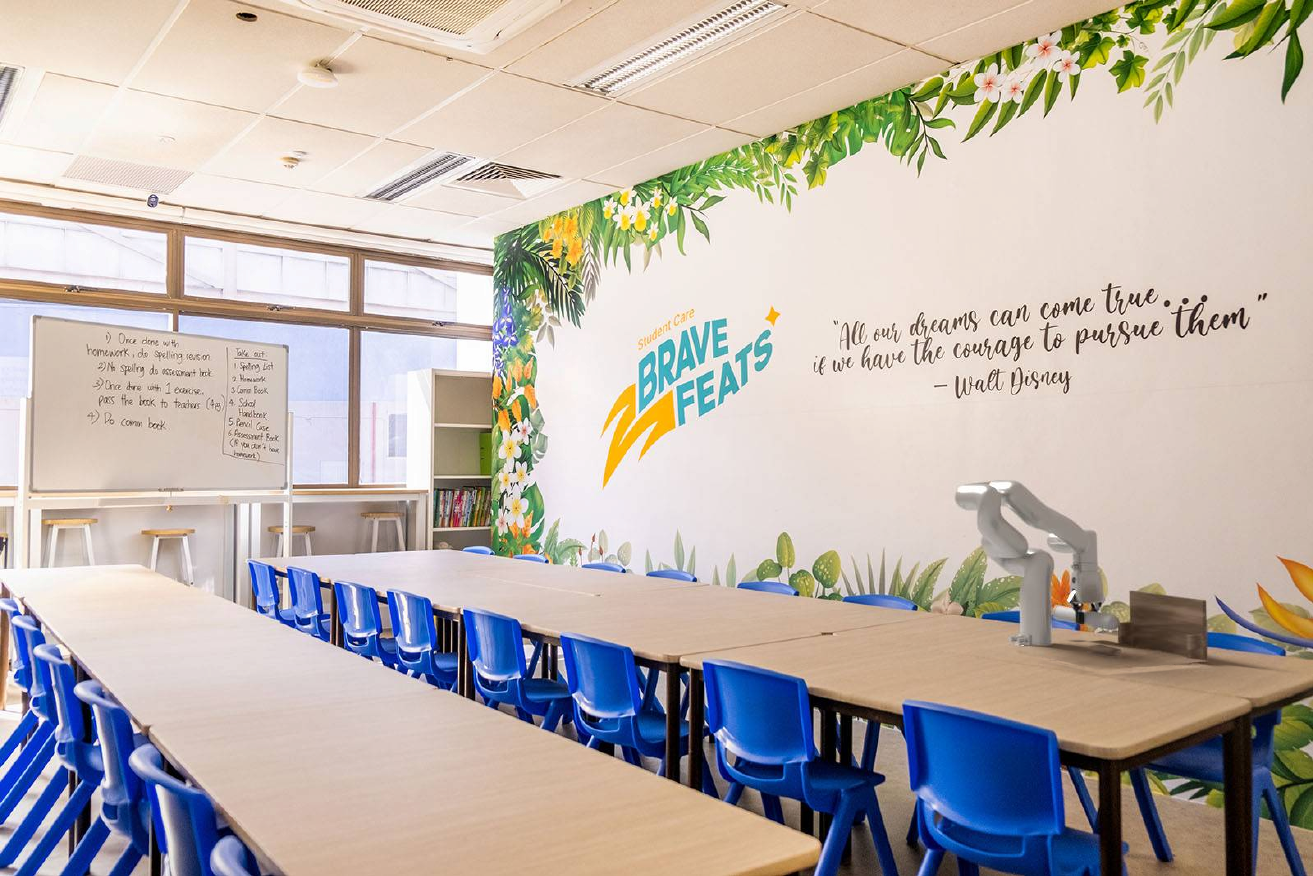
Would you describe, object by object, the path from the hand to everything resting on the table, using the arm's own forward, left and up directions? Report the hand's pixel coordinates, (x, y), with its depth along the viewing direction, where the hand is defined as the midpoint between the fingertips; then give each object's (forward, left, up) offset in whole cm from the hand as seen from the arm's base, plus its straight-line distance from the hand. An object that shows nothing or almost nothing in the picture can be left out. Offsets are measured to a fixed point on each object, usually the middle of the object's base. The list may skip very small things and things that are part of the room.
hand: (1086, 622), depth 330 cm
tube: (0, 0, -1) cm, 1 cm away
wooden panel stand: (+7, -23, -7) cm, 25 cm away
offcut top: (-14, -23, -6) cm, 28 cm away
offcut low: (-14, -23, -8) cm, 28 cm away
